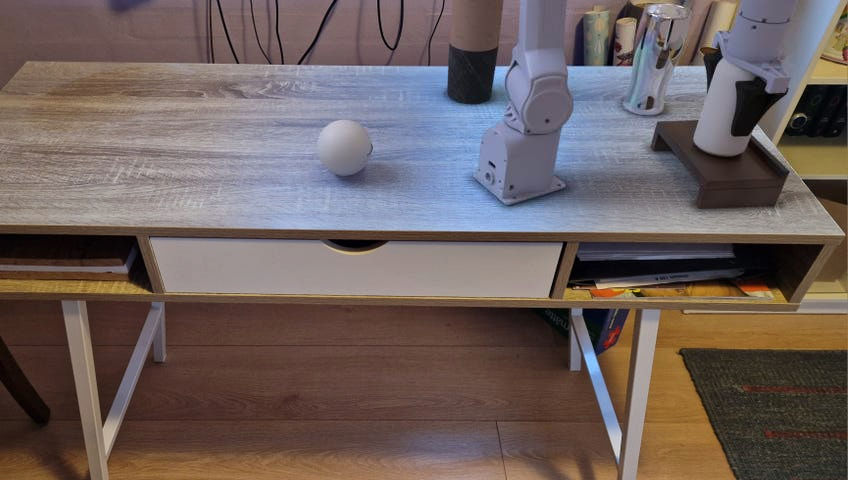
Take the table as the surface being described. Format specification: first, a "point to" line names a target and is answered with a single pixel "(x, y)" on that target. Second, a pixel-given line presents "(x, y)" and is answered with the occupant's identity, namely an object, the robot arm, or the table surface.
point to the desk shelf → (724, 169)
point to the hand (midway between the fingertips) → (726, 122)
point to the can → (721, 113)
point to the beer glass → (656, 56)
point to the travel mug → (473, 49)
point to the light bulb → (344, 147)
